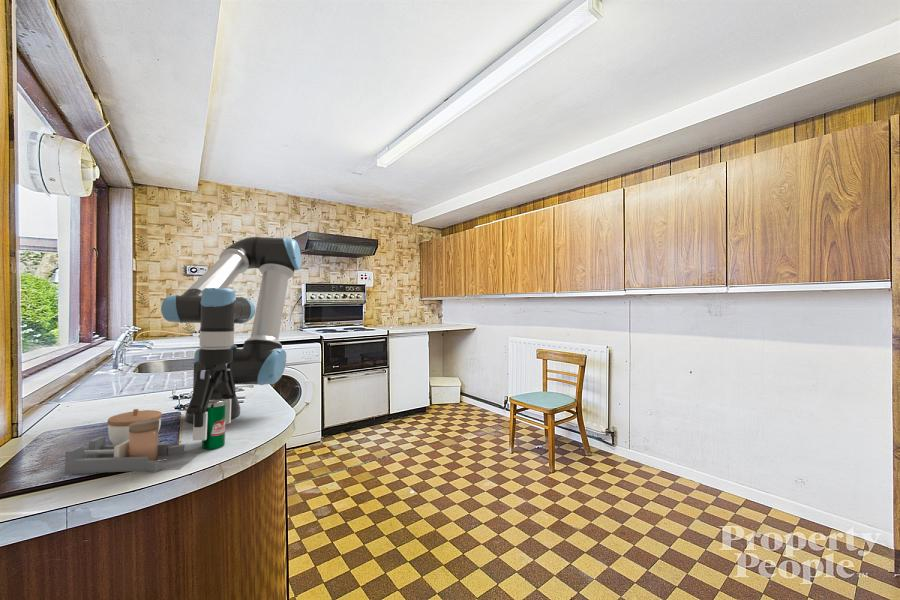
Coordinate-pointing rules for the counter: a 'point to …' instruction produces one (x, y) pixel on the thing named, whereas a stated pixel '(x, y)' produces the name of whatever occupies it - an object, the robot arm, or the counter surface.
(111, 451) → the pusher
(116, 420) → the lidded jar
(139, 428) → the jar
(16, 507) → the counter surface
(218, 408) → the soda can
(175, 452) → the grey divided tray
